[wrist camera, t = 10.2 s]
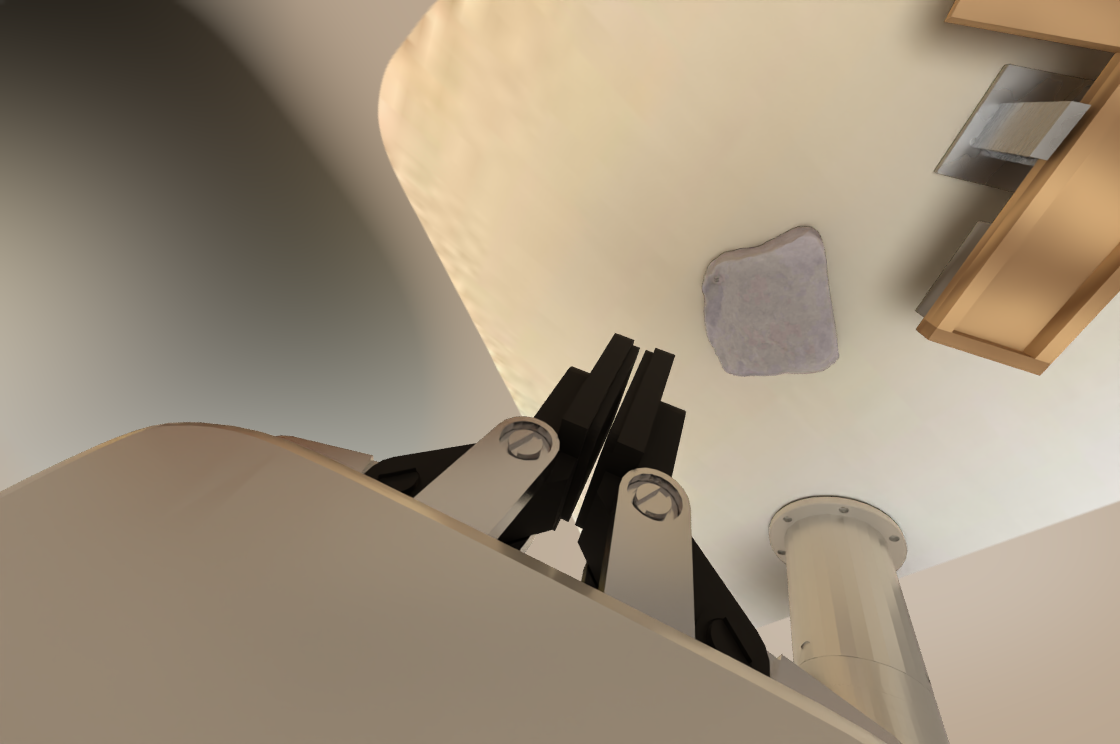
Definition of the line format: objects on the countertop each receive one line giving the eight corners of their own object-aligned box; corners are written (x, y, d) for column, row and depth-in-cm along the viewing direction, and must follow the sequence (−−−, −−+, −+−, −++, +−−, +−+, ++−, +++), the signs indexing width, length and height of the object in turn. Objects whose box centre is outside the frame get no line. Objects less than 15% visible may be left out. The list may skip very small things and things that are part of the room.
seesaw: (1001, 351, 28) (1039, 375, 24) (793, 285, 30) (801, 299, 27) (1399, -112, 17) (1565, -183, 14) (1026, -151, 20) (1088, -219, 16)
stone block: (729, 362, 43) (847, 352, 36) (716, 385, 40) (842, 379, 33) (700, 249, 39) (826, 216, 32) (682, 265, 36) (819, 232, 29)
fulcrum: (1104, 214, 27) (1209, 245, 20) (933, 171, 29) (983, 188, 22) (1206, 104, 23) (1370, 102, 17) (1004, 65, 25) (1085, 50, 19)
